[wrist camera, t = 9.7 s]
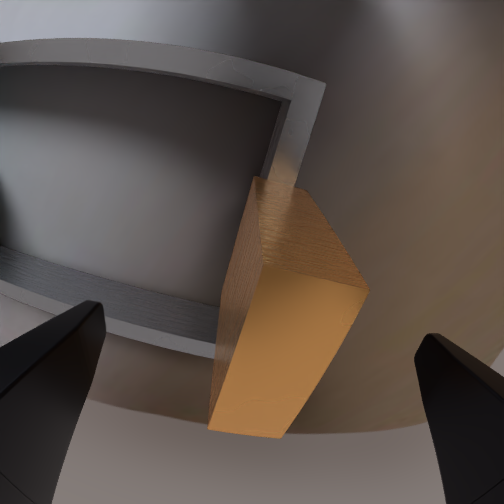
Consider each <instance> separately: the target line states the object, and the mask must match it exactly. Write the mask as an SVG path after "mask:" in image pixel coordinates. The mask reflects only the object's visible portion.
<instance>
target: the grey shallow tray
mask: <svg viewBox="0 0 504 504" xmlns="http://www.w3.org/2000/svg"><path fill="white" fill-rule="evenodd" d="M21 65H67V66H88V67H102V68H114V69H124V70H133V71H141V72H148V73H155V74H162V75H168V76H174V77H180V78H186V79H191V80H196V81H201V82H206V83H211V84H216V85H220V86H225V87H229V88H233V89H237V90H241V91H245V92H249V93H253V94H257V95H261V96H264V97H268V98H272V99H275V100H279V101H282V104H281V107H280V110H279V114H278V117H277V120H276V124H275V127H274V130H273V134H272V137H271V140H270V144H269V147H268V150H267V154H266V157H265V161H264V164H263V167H262V171H261V174H260V177H257V176H254V178H253V181H252V185H251V188H250V192H249V195H248V199H247V202H246V206H245V209H244V213H243V216H242V220H241V223H240V227H239V230H238V234H237V238H236V241H235V245H234V248H233V252H232V256H231V259H230V263H229V266H228V270H227V274H226V277H225V281H224V285H223V288H222V293H221V301H220V307H215V306H211V305H207V304H202V303H198V302H194V301H190V300H185V299H181V298H177V297H173V296H169V295H165V294H161V293H157V292H153V291H149V290H146V289H142V288H138V287H134V286H130V285H127V284H123V283H119V282H116V281H112V280H109V279H105V278H101V277H98V276H94V275H91V274H88V273H84V272H81V271H77V270H74V269H71V268H67V267H64V266H61V265H58V264H54V263H51V262H48V261H45V260H42V259H39V258H36V257H32V256H29V255H26V254H23V253H20V252H17V251H14V250H11V249H9V248H6V247H3V246H0V293H1V294H3V295H5V296H8V297H10V298H13V299H15V300H18V301H20V302H23V303H25V304H28V305H30V306H33V307H35V308H38V309H41V310H43V311H46V312H49V313H52V314H54V315H57V316H58V315H59V314H61V313H63V312H65V311H67V310H69V309H70V308H72V307H74V306H76V305H78V304H80V303H82V302H83V301H85V300H94V301H99V302H101V303H102V305H103V308H104V315H105V322H106V332H109V333H113V334H116V335H119V336H123V337H126V338H130V339H134V340H137V341H141V342H145V343H148V344H152V345H156V346H160V347H164V348H168V349H172V350H176V351H181V352H185V353H189V354H194V355H198V356H203V357H207V358H212V359H214V365H213V375H212V385H211V395H210V406H209V416H208V428H207V429H209V430H215V431H221V432H228V433H235V434H242V435H250V436H260V437H268V438H282V436H283V435H284V433H285V432H286V431H287V429H288V428H289V426H290V425H291V423H292V422H293V420H294V419H295V418H296V416H297V415H298V413H299V412H300V410H301V409H302V407H303V406H304V404H305V403H306V401H307V399H308V398H309V396H310V395H311V393H312V392H313V390H314V389H315V387H316V385H317V384H318V382H319V381H320V379H321V377H322V376H323V374H324V372H325V371H326V369H327V367H328V366H329V364H330V362H331V361H332V359H333V357H334V356H335V354H336V352H337V351H338V349H339V347H340V345H341V344H342V342H343V340H344V338H345V336H346V335H347V333H348V331H349V329H350V327H351V326H352V324H353V322H354V320H355V318H356V316H357V315H358V313H359V311H360V309H361V307H362V305H363V303H364V301H365V299H366V297H367V295H368V293H369V291H370V289H369V288H368V286H367V284H366V282H365V281H364V279H363V277H362V276H361V274H360V272H359V271H358V269H357V268H356V266H355V264H354V263H353V261H352V259H351V258H350V256H349V255H348V253H347V251H346V250H345V248H344V247H343V245H342V243H341V242H340V240H339V239H338V237H337V235H336V234H335V232H334V231H333V229H332V228H331V226H330V225H329V223H328V222H327V220H326V219H325V217H324V215H323V214H322V212H321V211H320V209H319V208H318V206H317V205H316V203H315V202H314V200H313V199H312V198H311V196H310V195H309V193H308V192H307V191H306V190H303V189H300V188H296V187H294V185H295V182H296V179H297V176H298V173H299V170H300V167H301V164H302V160H303V157H304V154H305V151H306V148H307V145H308V142H309V139H310V135H311V132H312V129H313V126H314V123H315V119H316V116H317V113H318V110H319V107H320V103H321V100H322V97H323V94H324V91H325V87H326V84H327V83H324V82H321V81H318V80H315V79H312V78H309V77H306V76H303V75H300V74H297V73H294V72H291V71H287V70H284V69H281V68H277V67H274V66H270V65H266V64H263V63H259V62H255V61H251V60H247V59H243V58H239V57H234V56H230V55H225V54H221V53H216V52H211V51H205V50H200V49H194V48H188V47H182V46H175V45H168V44H161V43H152V42H143V41H132V40H118V39H98V38H56V39H36V40H23V41H13V42H4V43H0V67H1V66H21Z"/></svg>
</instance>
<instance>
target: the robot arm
mask: <svg viewBox="0 0 504 504" xmlns="http://www.w3.org/2000/svg"><path fill="white" fill-rule="evenodd" d="M105 335H106V322H105V315H104V308H103V305H102V303H101V302H99V301H94V300H85V301H83V302H82V303H80V304H78V305H76V306H74V307H72V308H70V309H69V310H67V311H65V312H63V313H61V314H59V315H58V316H56V317H54V318H52V319H50V320H48V321H47V322H45V323H43V324H41V325H39V326H37V327H36V328H34V329H32V330H30V331H28V332H27V333H25V334H23V335H21V336H20V337H18V338H16V339H14V340H12V341H11V342H9V343H7V344H5V345H4V346H2V347H0V504H52V500H53V496H54V493H55V489H56V486H57V482H58V479H59V476H60V472H61V469H62V466H63V463H64V460H65V456H66V453H67V450H68V447H69V444H70V441H71V438H72V435H73V433H74V430H75V427H76V424H77V421H78V419H79V416H80V413H81V410H82V408H83V405H84V403H85V400H86V397H87V395H88V392H89V390H90V387H91V384H92V381H93V378H94V374H95V370H96V367H97V363H98V359H99V356H100V352H101V349H102V346H103V342H104V339H105ZM414 362H415V367H416V372H417V376H418V381H419V386H420V391H421V397H422V401H423V406H424V410H425V413H426V417H427V420H428V424H429V428H430V432H431V435H432V439H433V443H434V448H435V452H436V456H437V460H438V464H439V469H440V474H441V479H442V484H443V489H444V494H445V500H446V504H504V377H503V376H501V375H500V374H499V373H497V372H496V371H494V370H493V369H491V368H490V367H488V366H487V365H485V364H484V363H482V362H481V361H480V360H478V359H477V358H475V357H474V356H472V355H471V354H469V353H468V352H466V351H465V350H463V349H462V348H460V347H459V346H457V345H456V344H454V343H453V342H451V341H450V340H448V339H447V338H445V337H444V336H442V335H441V334H438V333H429V334H427V335H426V336H425V337H424V339H423V341H422V342H421V344H420V346H419V348H418V350H417V352H416V354H415V357H414Z"/></svg>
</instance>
